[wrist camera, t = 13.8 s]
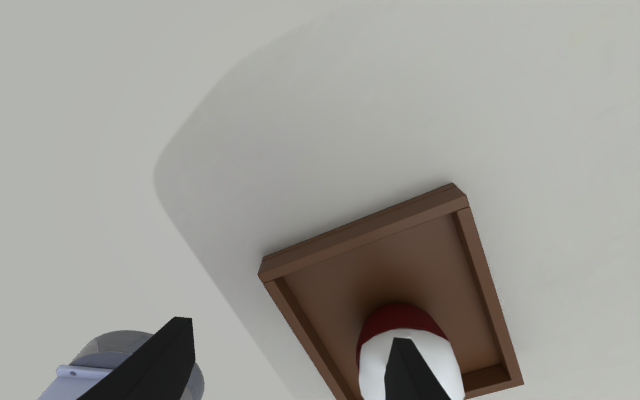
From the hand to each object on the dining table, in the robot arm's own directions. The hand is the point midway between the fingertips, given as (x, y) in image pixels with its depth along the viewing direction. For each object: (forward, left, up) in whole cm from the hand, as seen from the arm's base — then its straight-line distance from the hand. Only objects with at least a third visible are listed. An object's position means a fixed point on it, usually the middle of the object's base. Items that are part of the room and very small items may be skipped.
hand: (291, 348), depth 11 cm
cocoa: (+7, -7, -10) cm, 14 cm away
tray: (+7, -7, -10) cm, 14 cm away
